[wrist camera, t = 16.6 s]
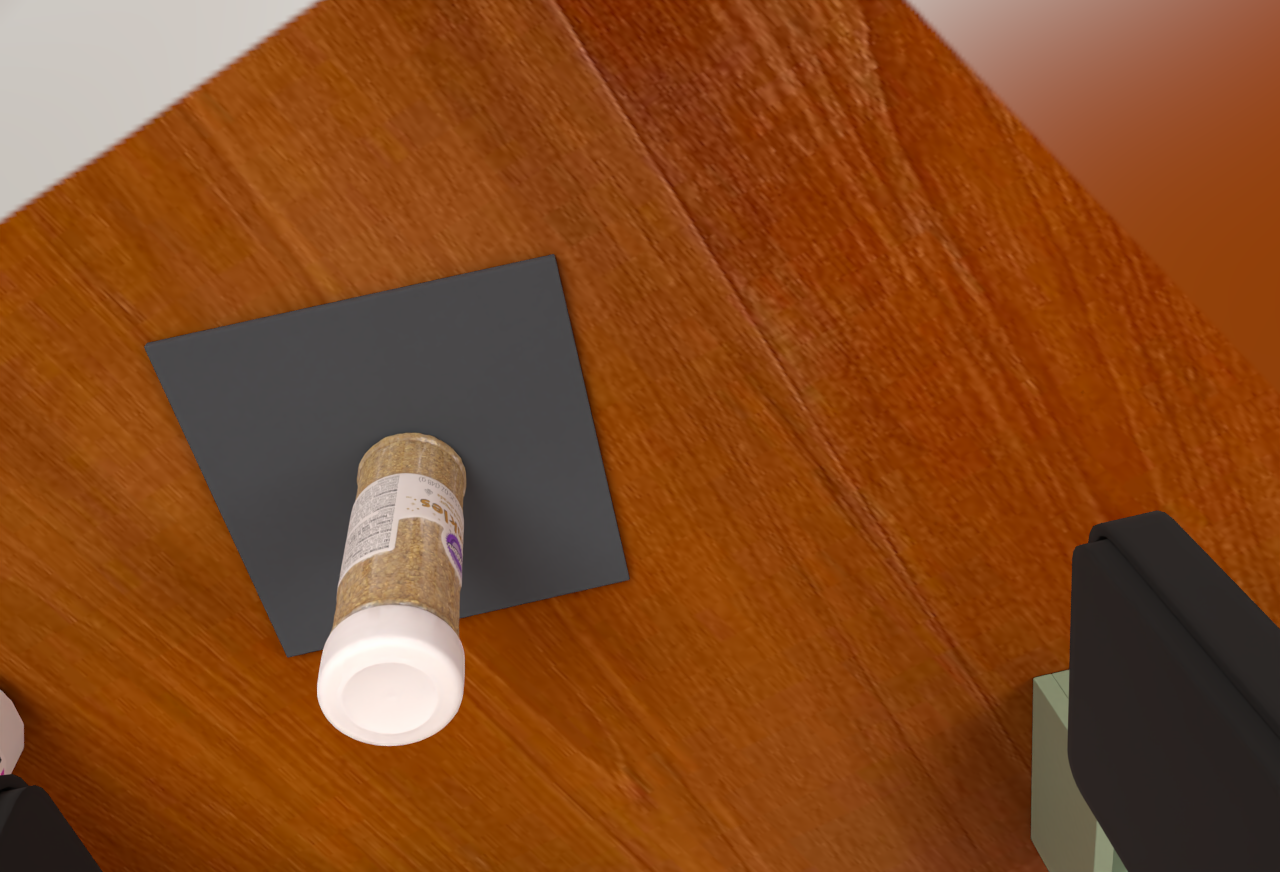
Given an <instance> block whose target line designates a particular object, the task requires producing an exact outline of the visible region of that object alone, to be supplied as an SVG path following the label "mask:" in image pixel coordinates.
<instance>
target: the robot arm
mask: <svg viewBox="0 0 1280 872" xmlns="http://www.w3.org/2000/svg"><path fill="white" fill-rule="evenodd" d="M1067 752H1068V760H1069V765H1070V769H1071V772H1072V775H1073V778H1074V780H1075V783H1076V785H1077V787H1078V789H1079V791H1080V793H1081V795H1082V796H1083V798H1084V800H1085V801H1086V803H1087V805H1088V806H1089V808H1090V810H1091V811H1092V813H1093V815H1094V816H1095V818H1096V820H1097V821H1098V823H1099V825H1100V826H1101V828H1102V830H1103V831H1104V833H1105V835H1106V836H1107V838H1108V840H1109V841H1110V843H1111V845H1112V846H1113V848H1114V850H1115V851H1116V853H1117V854H1118V856H1119V858H1120V859H1121V861H1122V863H1123V864H1124V866H1125V868H1126V869H1127V871H1128V872H1280V629H1279V628H1278V627H1277V626H1276V625H1275V624H1274V623H1273V622H1272V621H1271V620H1270V619H1269V617H1268V616H1267V615H1266V614H1265V613H1264V612H1263V611H1262V610H1261V609H1260V608H1259V607H1258V606H1257V605H1256V604H1255V603H1254V602H1253V601H1252V600H1251V599H1250V598H1249V597H1248V596H1247V595H1246V594H1245V593H1244V592H1243V591H1242V590H1241V589H1240V588H1239V586H1238V585H1237V584H1236V583H1235V582H1234V581H1233V580H1232V579H1231V578H1230V577H1229V576H1228V575H1227V574H1226V573H1225V572H1224V571H1223V570H1222V569H1221V568H1220V567H1219V566H1218V565H1217V564H1216V563H1215V562H1214V561H1213V560H1212V559H1211V558H1210V557H1209V555H1208V554H1207V553H1206V552H1205V551H1204V550H1203V549H1202V548H1201V547H1200V546H1199V545H1198V544H1197V543H1196V542H1195V541H1194V540H1193V539H1192V538H1191V537H1190V536H1189V535H1188V534H1187V533H1186V532H1185V531H1184V530H1183V529H1182V528H1181V527H1180V526H1179V524H1178V523H1177V522H1176V521H1175V520H1174V519H1172V518H1171V517H1170V516H1169V515H1167V514H1166V513H1165V512H1161V511H1153V512H1149V513H1144V514H1140V515H1136V516H1131V517H1127V518H1122V519H1118V520H1114V521H1109V522H1105V523H1101V524H1098V525H1095V526H1093V528H1092V530H1091V532H1090V535H1089V541H1088V543H1087V544H1083V545H1079V546H1077V547H1076V548H1075V550H1074V551H1073V558H1072V592H1071V629H1070V667H1069V705H1068V742H1067ZM0 872H102V870H101V869H100V867H99V866H98V865H97V863H96V862H95V860H94V859H93V858H92V856H91V855H90V853H89V852H88V850H87V849H86V848H85V846H84V845H83V843H82V842H81V840H80V839H79V838H78V836H77V835H76V833H75V832H74V830H73V829H72V828H71V826H70V825H69V823H68V822H67V821H66V819H65V818H64V816H63V815H62V813H61V812H60V811H59V809H58V808H57V806H56V805H55V803H54V802H53V801H52V799H51V798H50V796H49V795H48V794H47V793H46V792H45V790H44V789H43V788H41V787H39V786H36V785H33V786H28V785H27V784H26V783H25V782H24V781H23V780H22V778H20V777H18V776H15V775H13V774H7V775H0Z"/></svg>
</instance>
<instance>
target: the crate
mask: <svg viewBox="0 0 1280 872" xmlns="http://www.w3.org/2000/svg"><path fill="white" fill-rule="evenodd" d="M1068 705H1069V670H1065V671H1061V672H1057V673H1053V674H1052V675H1051V674H1048V675H1044V676H1039V677H1035V678H1033V731H1032V797H1031V840H1032V842H1033V844H1034V845H1035V847H1036V849H1037V851H1038V853H1039V854H1040V856H1041V858H1042V860H1043V862H1044V864H1045V865H1046V867H1047V869H1048V871H1049V872H1128V871H1127V869H1126V868H1125V866H1124V864H1123V863H1122V861H1121V859H1120V858H1119V856H1118V854H1117V853H1116V851H1115V850H1114V848H1113V846H1112V845H1111V843H1110V841H1109V840H1108V838H1107V836H1106V835H1105V833H1104V831H1103V830H1102V828H1101V826H1100V825H1099V823H1098V821H1097V820H1096V818H1095V816H1094V815H1093V813H1092V811H1091V810H1090V808H1089V806H1088V805H1087V803H1086V801H1085V800H1084V798H1083V796H1082V795H1081V793H1080V791H1079V789H1078V787H1077V785H1076V783H1075V780H1074V778H1073V775H1072V772H1071V769H1070V765H1069V760H1068V752H1067V742H1068Z"/></svg>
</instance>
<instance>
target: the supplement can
mask: <svg viewBox="0 0 1280 872" xmlns="http://www.w3.org/2000/svg"><path fill="white" fill-rule="evenodd" d="M23 748H24V724H23V722H22V720H21V718H20V716H19V714H18V712H17V710H16V708H15V706H14V704H13V702H12V701H11V700H10V699H9V698H8V697H7V696H6V695H5V693H4V692H3V691H1V690H0V775H7V774H11V773H12V771H13V769H14V767H15V765H16V763H17V761H18V759H19V757H20V755H21V752H22V750H23Z"/></svg>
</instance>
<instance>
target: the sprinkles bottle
mask: <svg viewBox="0 0 1280 872" xmlns="http://www.w3.org/2000/svg"><path fill="white" fill-rule="evenodd" d="M357 485H358V489H357V495H356V499H355V503H354V505H353V508H352V512H351V517H350V522H349V528H348V534H347V539H346V544H345V550H344V555H343V561H342V566H341V572H340V577H339V583H338V588H337V604H336V611H335V615H334V623H333V627H332V630H331V632H330V635H329V637H328V639H327V641H326V643H325V645H324V648H323V652H322V658H321V663H320V669H319V676H318V684H317V696H318V701H319V704H320V707H321V709H322V711H323V713H324V715H325V717H326V718H327V719H328V720H329V722H330V723H331V724H332V725H333V726H334V727H335V728H337V729H338V730H339V731H341V732H342V733H344V734H345V735H347V736H349V737H351V738H353V739H356V740H358V741H361V742H364V743H368V744H373V745H380V746H398V745H406V744H411V743H414V742H418V741H421V740H423V739H426V738H428V737H430V736H432V735H434V734H435V733H437V732H438V731H440V730H441V729H442V728H444V727H445V726H446V725H447V724H448V723H449V722H450V721H451V720H452V719H453V717H454V716H455V714H456V713H457V711H458V709H459V707H460V704H461V701H462V697H463V690H464V676H465V656H464V650H463V646H462V644H461V641H460V638H459V617H460V616H459V609H460V590H461V587H462V559H463V534H464V517H463V497H464V494H465V490H466V471H465V467H464V465H463V463H462V460H461V458H460V456H459V455H458V454H457V453H456V452H455V451H454V449H453V448H451V447H450V446H449V445H447V444H446V443H444V442H443V441H441V440H438V439H437V438H436V437H433V436H431V435H424V434H421V433H403V434H395V435H392V436H388V437H385V438H383V439H382V440H380V441H379V442H378V443H376V444H375V445H373V446H372V447H371V448H370V449H369V450H368V451H367V452H366V453H365V454H364V456H363V458H362V460H361V462H360V464H359V468H358V475H357Z"/></svg>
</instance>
